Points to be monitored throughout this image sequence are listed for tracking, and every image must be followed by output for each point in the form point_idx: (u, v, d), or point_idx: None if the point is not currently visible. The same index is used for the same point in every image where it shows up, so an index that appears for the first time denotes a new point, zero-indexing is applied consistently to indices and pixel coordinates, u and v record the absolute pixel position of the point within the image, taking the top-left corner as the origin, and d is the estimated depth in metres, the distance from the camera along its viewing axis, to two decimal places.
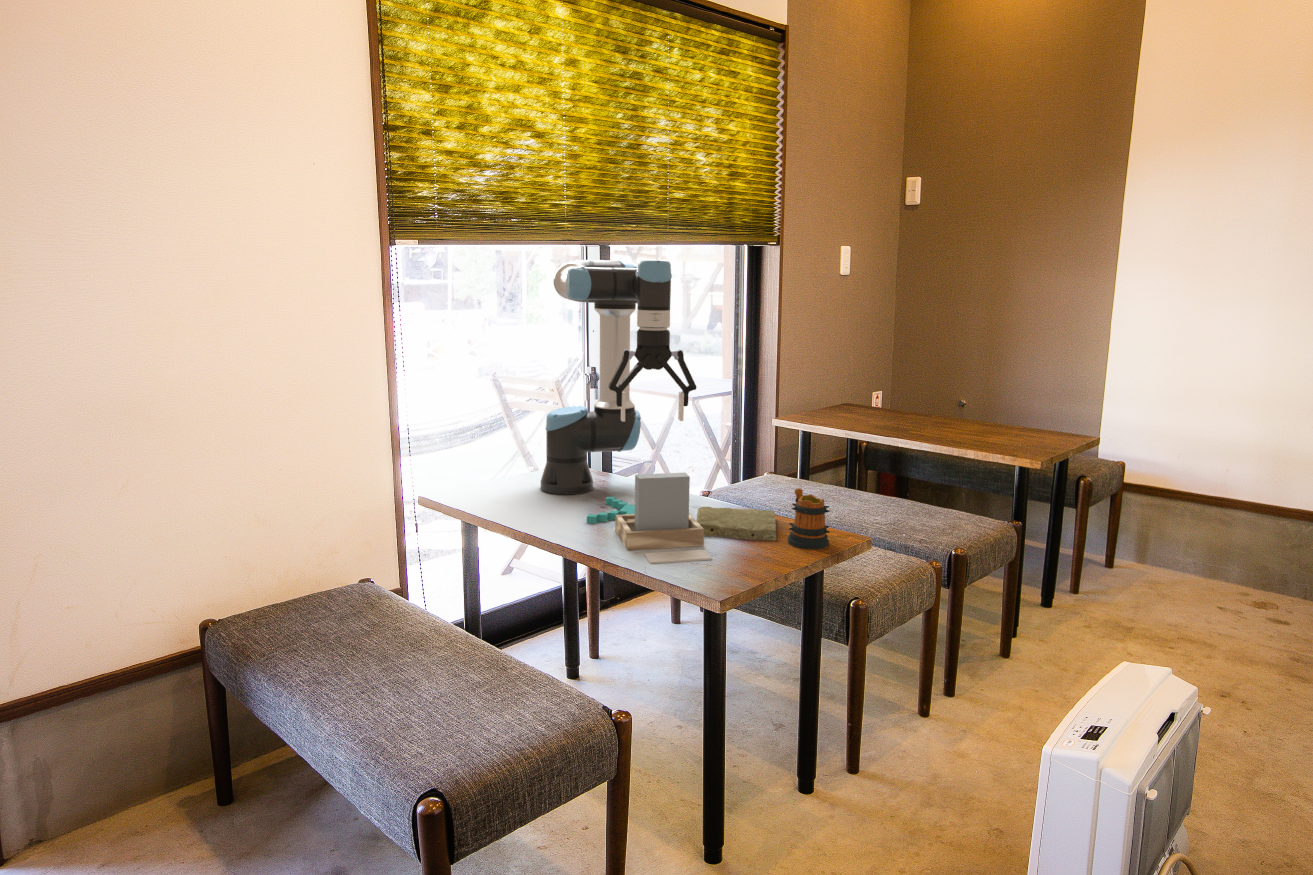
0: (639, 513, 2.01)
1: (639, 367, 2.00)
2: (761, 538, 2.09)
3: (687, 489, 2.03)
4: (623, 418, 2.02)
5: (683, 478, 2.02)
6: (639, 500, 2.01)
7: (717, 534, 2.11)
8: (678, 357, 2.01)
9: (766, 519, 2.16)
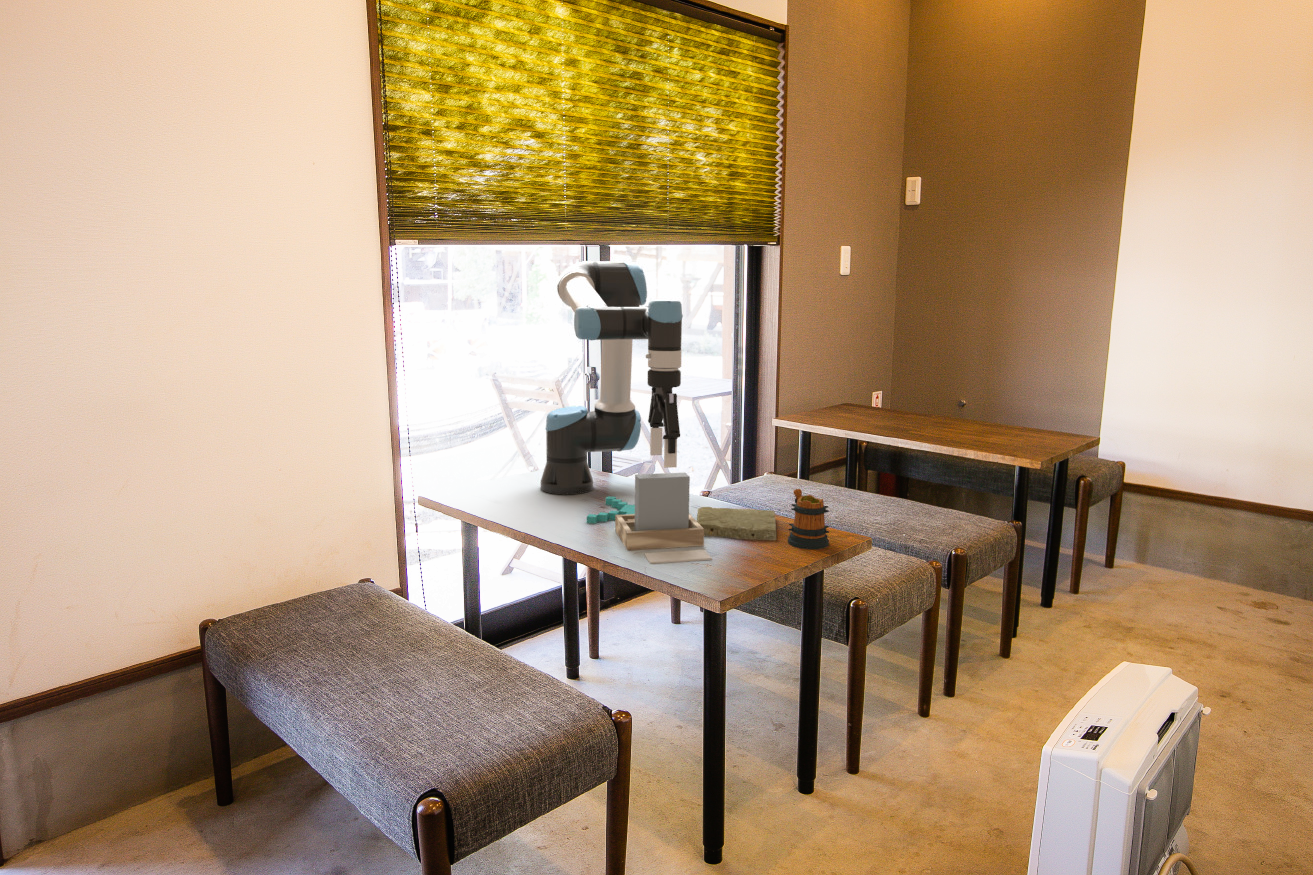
0: (639, 513, 2.01)
1: (653, 404, 2.02)
2: (761, 538, 2.09)
3: (687, 489, 2.03)
4: (650, 452, 2.08)
5: (683, 478, 2.02)
6: (639, 500, 2.01)
7: (717, 534, 2.11)
8: (665, 400, 1.93)
9: (766, 519, 2.16)
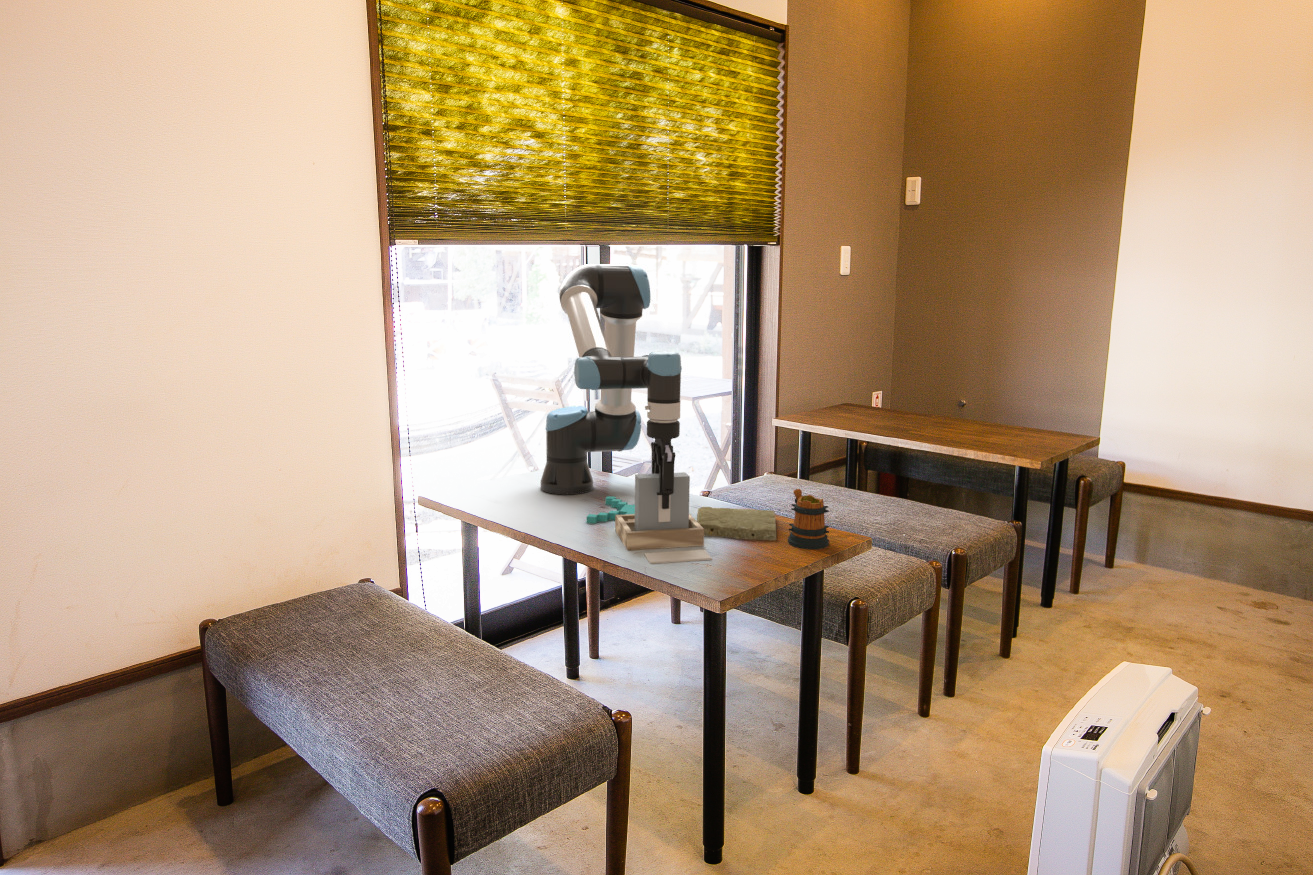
0: (639, 513, 2.01)
1: (653, 458, 2.04)
2: (761, 538, 2.09)
3: (687, 489, 2.03)
4: None
5: (683, 478, 2.02)
6: (639, 500, 2.01)
7: (717, 534, 2.11)
8: (663, 457, 1.97)
9: (766, 519, 2.16)
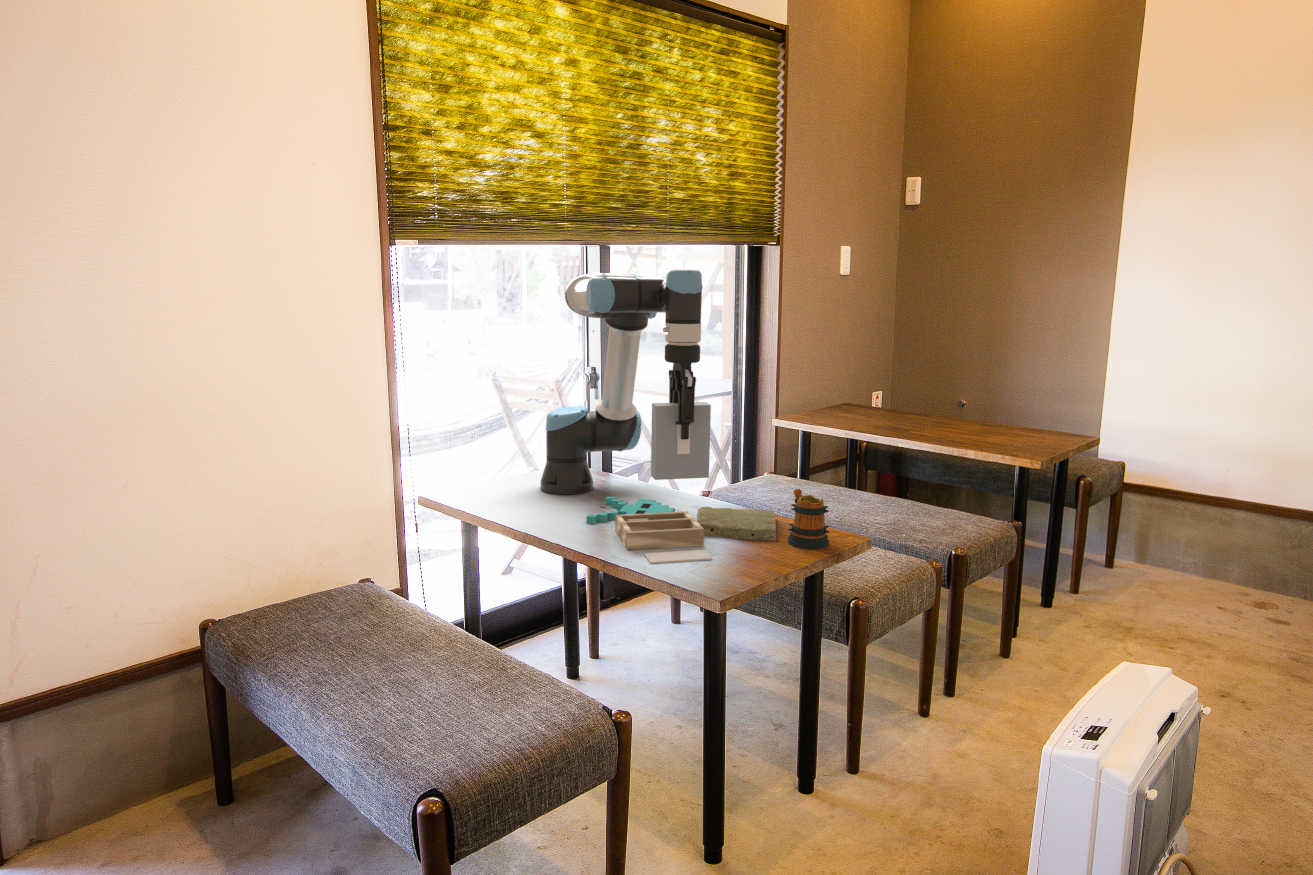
0: (656, 444, 1.87)
1: (671, 386, 1.89)
2: (761, 538, 2.09)
3: (708, 419, 1.88)
4: None
5: (704, 407, 1.88)
6: (656, 430, 1.86)
7: (717, 534, 2.11)
8: (682, 382, 1.82)
9: (766, 519, 2.16)
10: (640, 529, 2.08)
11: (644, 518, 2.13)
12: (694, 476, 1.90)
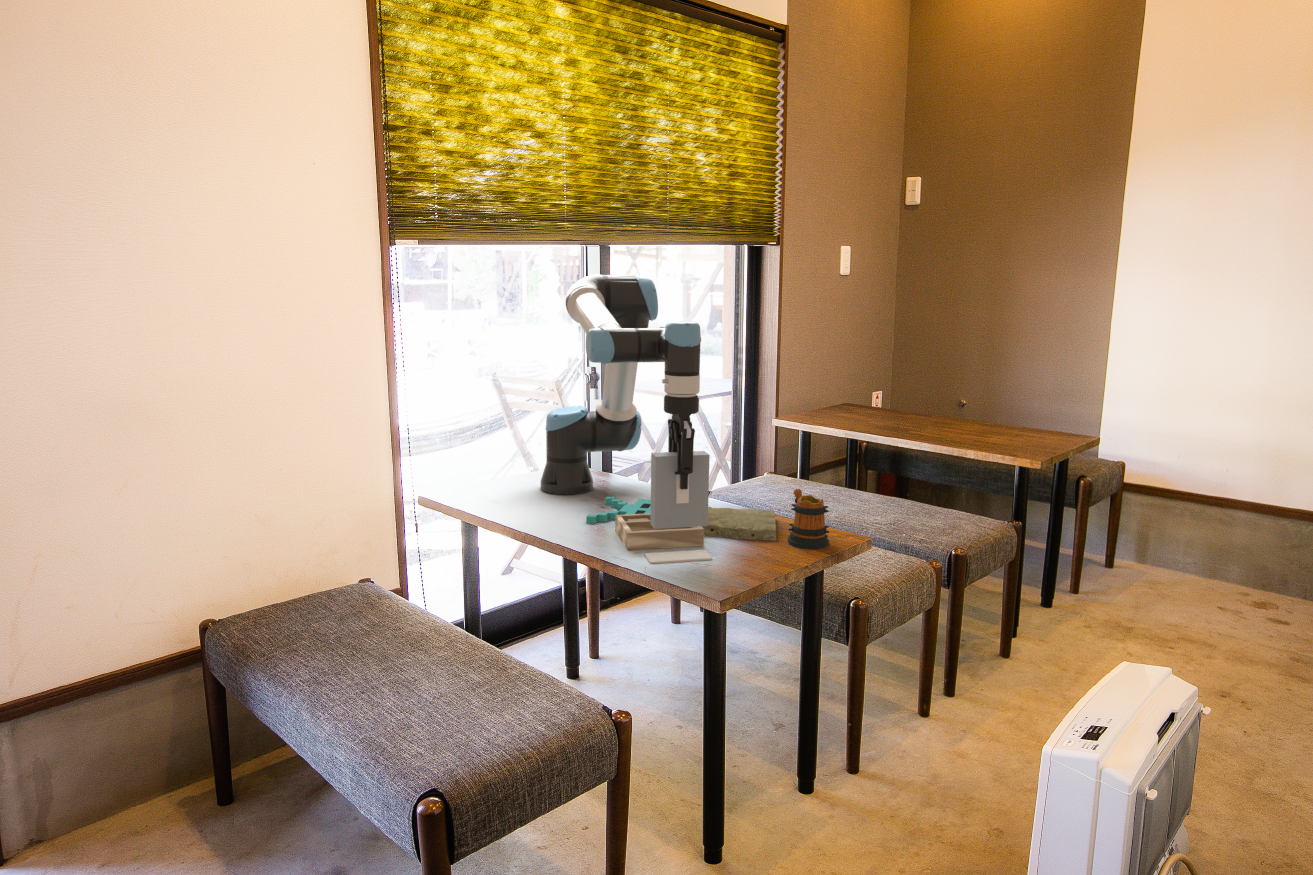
0: (656, 494, 1.89)
1: (670, 435, 1.91)
2: (761, 538, 2.09)
3: (707, 468, 1.90)
4: None
5: (702, 456, 1.90)
6: (656, 480, 1.88)
7: (717, 534, 2.11)
8: (681, 433, 1.84)
9: (766, 519, 2.16)
10: (640, 529, 2.08)
11: (644, 518, 2.13)
12: (693, 524, 1.92)
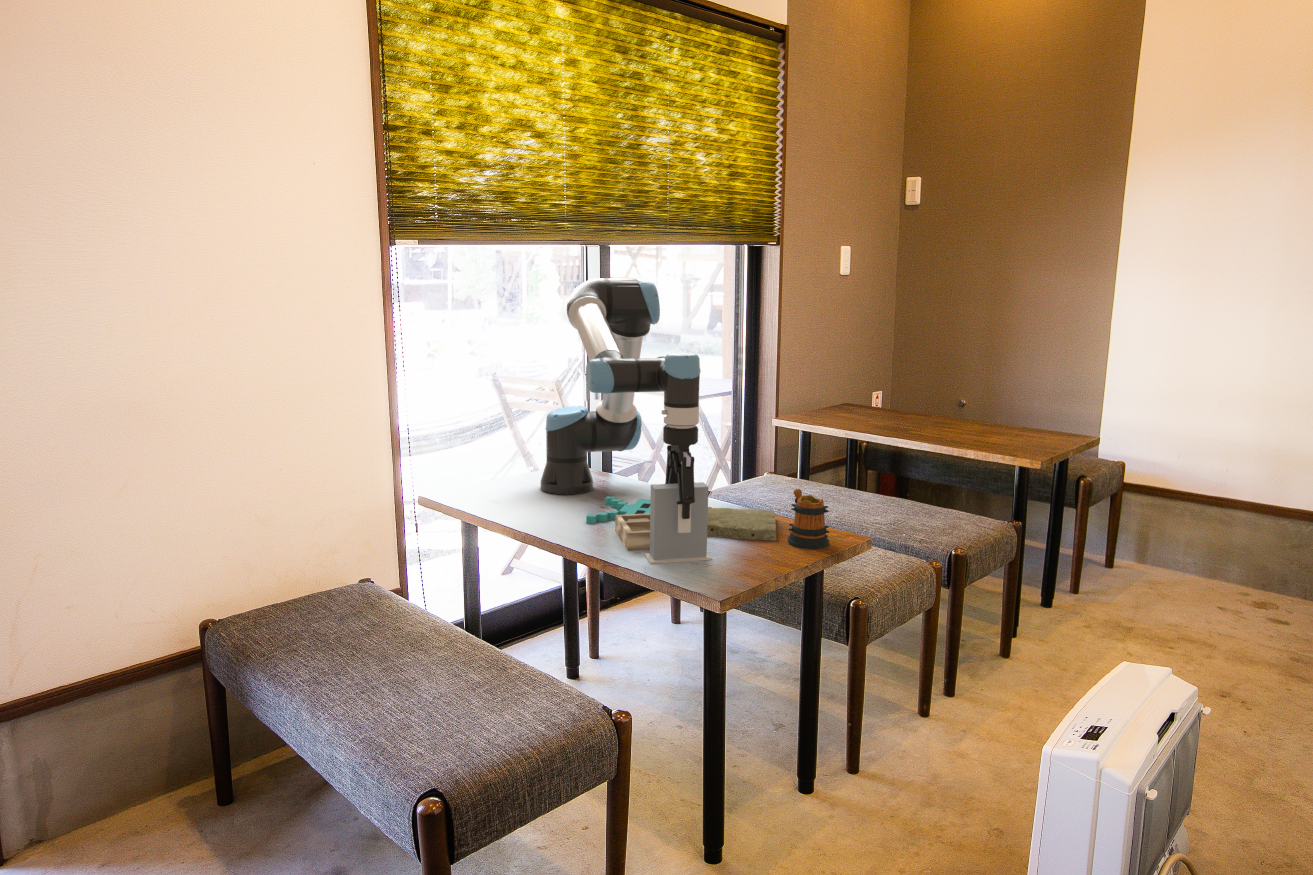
0: (655, 525, 1.90)
1: (669, 464, 1.93)
2: (761, 538, 2.09)
3: (706, 500, 1.92)
4: None
5: (701, 488, 1.91)
6: (655, 512, 1.90)
7: (717, 534, 2.11)
8: (681, 463, 1.85)
9: (766, 519, 2.16)
10: (640, 529, 2.08)
11: (644, 518, 2.13)
12: (692, 556, 1.94)
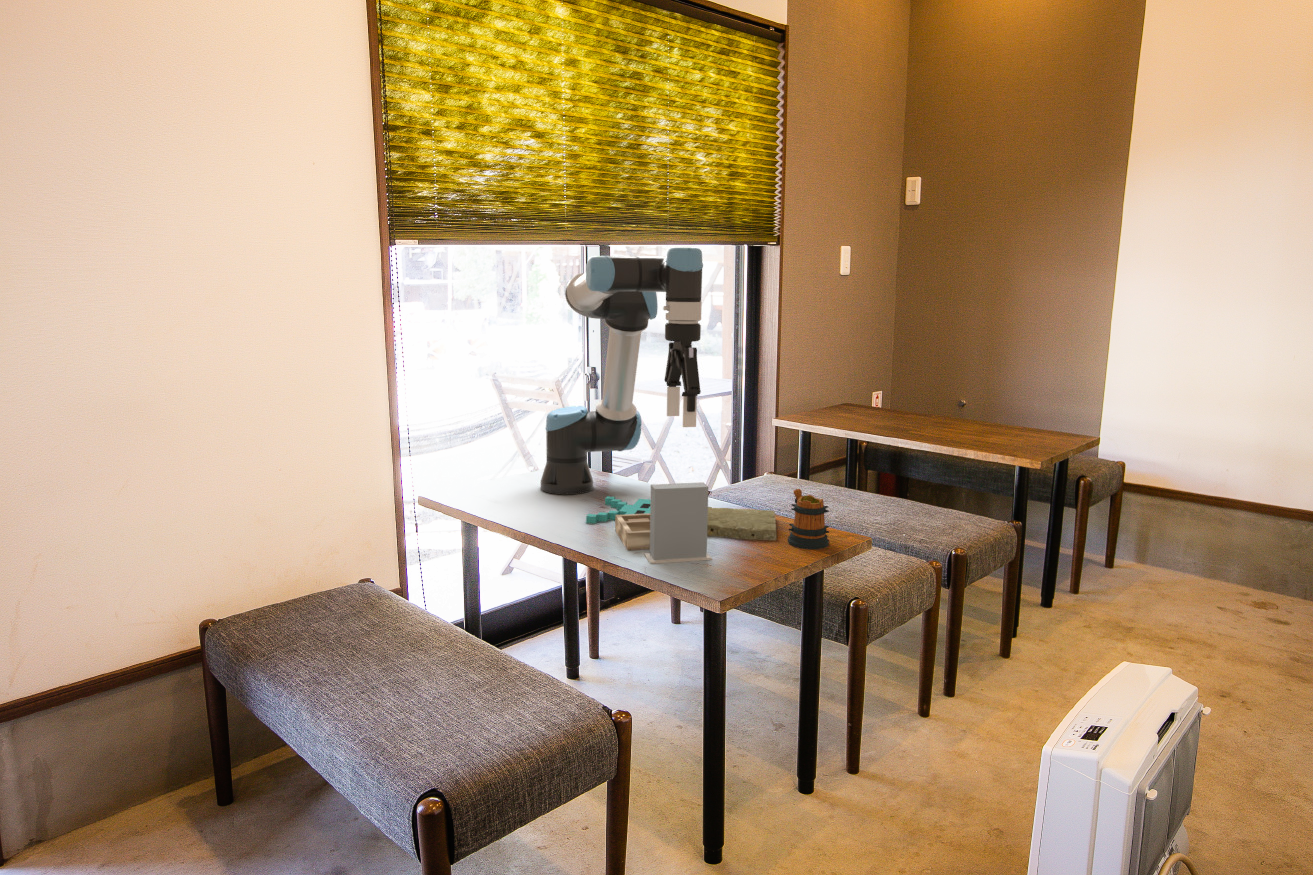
0: (655, 525, 1.90)
1: (670, 361, 1.89)
2: (761, 538, 2.09)
3: (706, 500, 1.92)
4: (667, 412, 1.95)
5: (701, 488, 1.91)
6: (655, 512, 1.90)
7: (717, 534, 2.11)
8: (684, 355, 1.81)
9: (766, 519, 2.16)
10: (640, 529, 2.08)
11: (644, 518, 2.13)
12: (692, 556, 1.94)
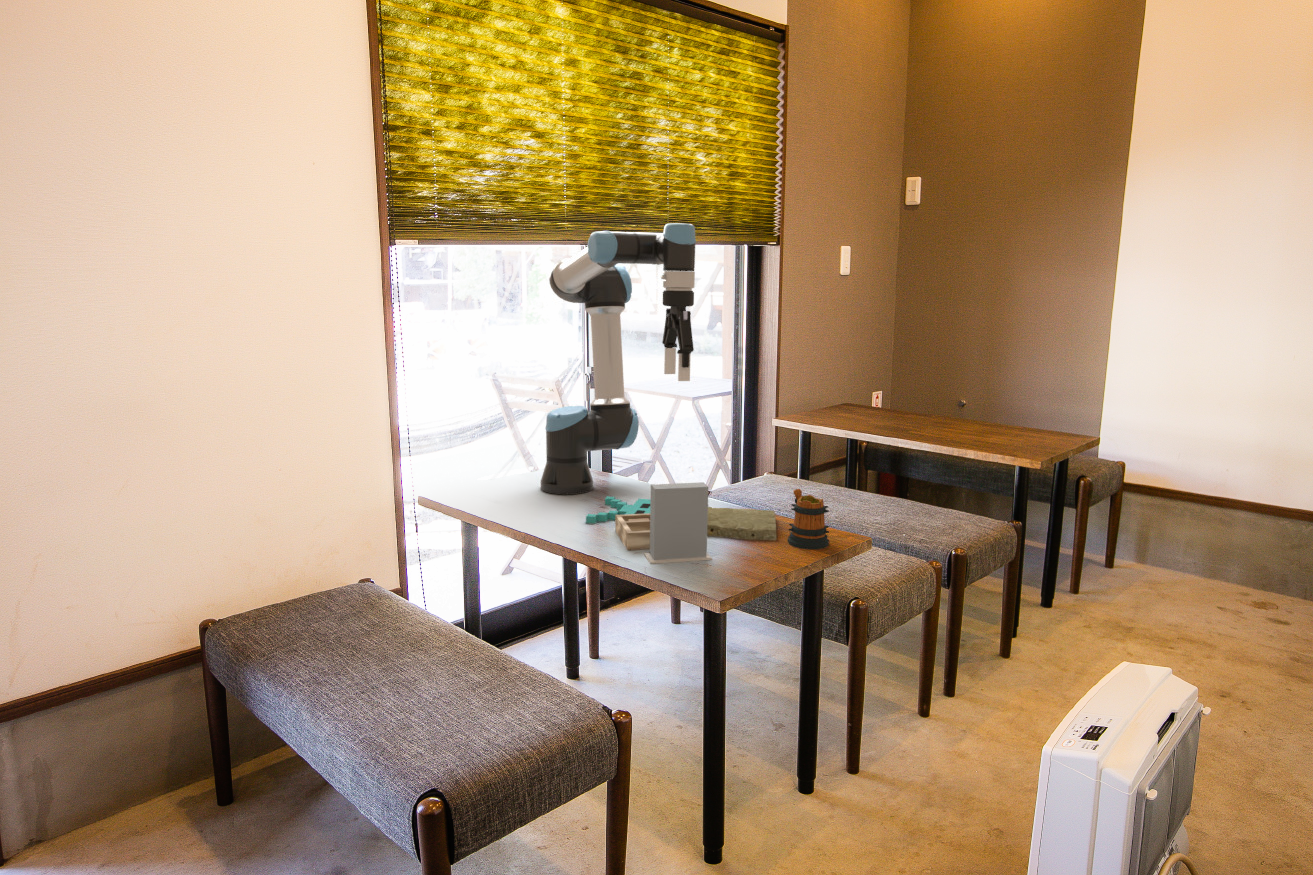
0: (655, 525, 1.90)
1: (667, 324, 2.15)
2: (761, 538, 2.09)
3: (706, 500, 1.92)
4: (664, 371, 2.21)
5: (701, 488, 1.91)
6: (655, 512, 1.90)
7: (717, 534, 2.11)
8: (679, 317, 2.06)
9: (766, 519, 2.16)
10: (640, 529, 2.08)
11: (644, 518, 2.13)
12: (692, 556, 1.94)
